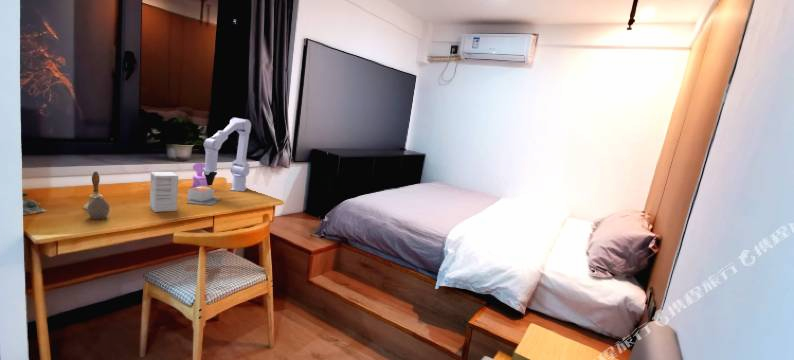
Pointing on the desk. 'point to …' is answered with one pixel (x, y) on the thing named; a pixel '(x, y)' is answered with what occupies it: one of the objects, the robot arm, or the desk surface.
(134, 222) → the desk surface
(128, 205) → the desk surface
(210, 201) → the slate mat
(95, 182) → the hand bell
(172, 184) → the supplement box
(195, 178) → the toy chair
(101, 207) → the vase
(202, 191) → the small box
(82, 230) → the desk surface
